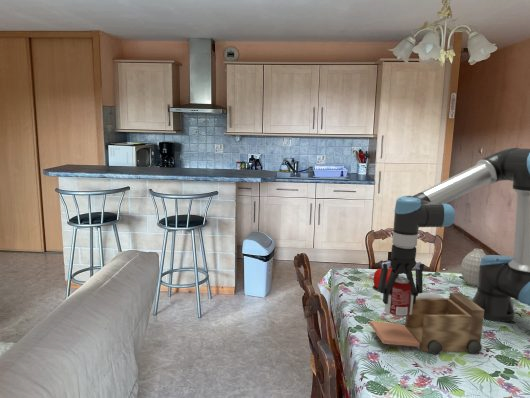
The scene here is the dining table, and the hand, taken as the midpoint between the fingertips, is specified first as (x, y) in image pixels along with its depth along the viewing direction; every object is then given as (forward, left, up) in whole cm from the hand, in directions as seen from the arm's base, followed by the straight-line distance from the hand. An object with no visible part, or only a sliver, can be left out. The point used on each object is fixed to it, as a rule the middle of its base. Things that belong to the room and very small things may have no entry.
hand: (398, 312), depth 137 cm
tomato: (+3, -48, -10) cm, 49 cm away
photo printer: (-12, -14, -10) cm, 21 cm away
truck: (-15, -5, -10) cm, 18 cm away
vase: (-37, -69, -10) cm, 79 cm away
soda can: (0, 0, -1) cm, 1 cm away
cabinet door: (-5, -2, -8) cm, 10 cm away
